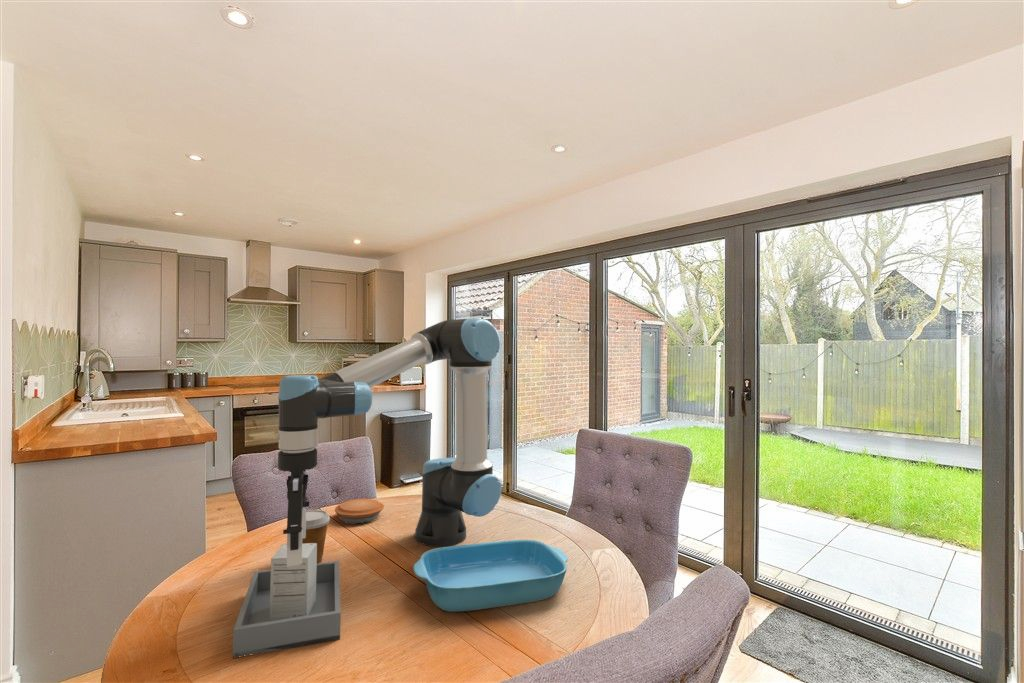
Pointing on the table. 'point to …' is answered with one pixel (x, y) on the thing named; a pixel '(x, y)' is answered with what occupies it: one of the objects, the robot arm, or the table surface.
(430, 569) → the casserole dish
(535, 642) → the table surface
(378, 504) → the pie
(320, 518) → the disposable coffee cup
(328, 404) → the robot arm
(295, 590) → the supplement box
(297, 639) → the bin
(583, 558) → the table surface
